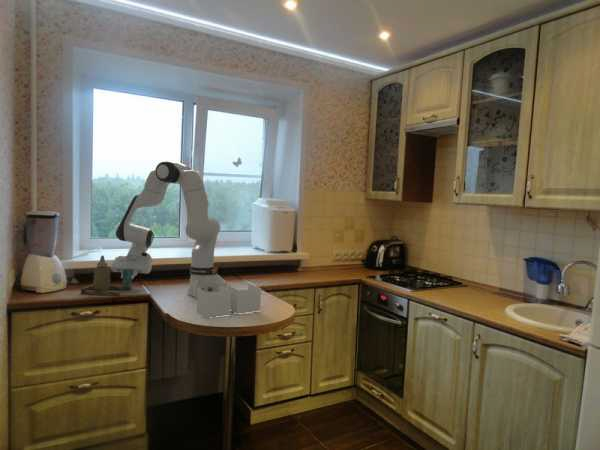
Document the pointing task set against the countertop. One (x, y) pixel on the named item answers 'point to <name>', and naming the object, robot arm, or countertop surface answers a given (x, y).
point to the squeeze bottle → (102, 276)
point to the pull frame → (111, 286)
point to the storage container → (228, 301)
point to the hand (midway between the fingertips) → (126, 278)
